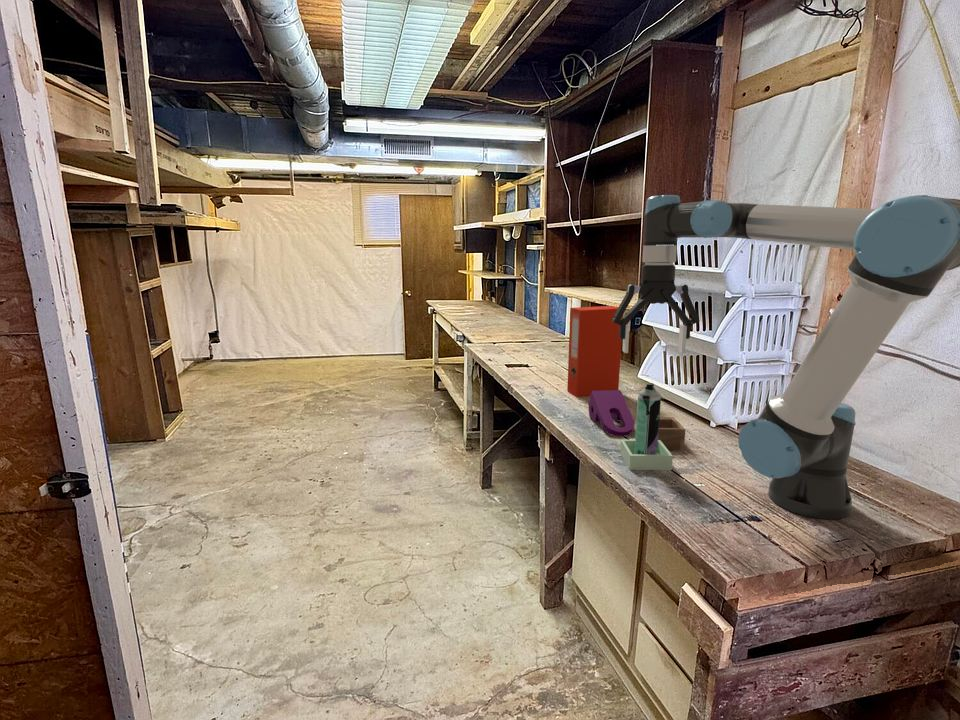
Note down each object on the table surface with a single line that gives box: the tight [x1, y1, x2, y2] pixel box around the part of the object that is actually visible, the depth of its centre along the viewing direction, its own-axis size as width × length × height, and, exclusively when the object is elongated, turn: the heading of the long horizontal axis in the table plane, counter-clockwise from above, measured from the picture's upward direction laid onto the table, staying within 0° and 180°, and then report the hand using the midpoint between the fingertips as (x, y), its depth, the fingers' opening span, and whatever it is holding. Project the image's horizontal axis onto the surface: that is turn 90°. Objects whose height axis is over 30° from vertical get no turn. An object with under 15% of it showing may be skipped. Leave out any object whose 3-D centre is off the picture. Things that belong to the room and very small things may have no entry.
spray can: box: [634, 382, 662, 455], centre depth 130 cm, size 6×6×20 cm
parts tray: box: [619, 439, 674, 471], centre depth 132 cm, size 10×10×4 cm
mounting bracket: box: [588, 389, 636, 437], centre depth 159 cm, size 9×8×18 cm
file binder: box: [566, 305, 624, 398], centre depth 190 cm, size 8×17×32 cm, turn 108°
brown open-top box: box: [658, 415, 686, 451], centre depth 145 cm, size 12×9×6 cm
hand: (653, 352), depth 126 cm, fingers open, 13 cm apart
